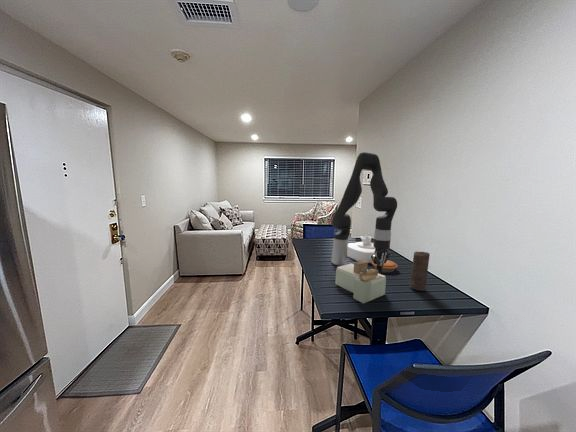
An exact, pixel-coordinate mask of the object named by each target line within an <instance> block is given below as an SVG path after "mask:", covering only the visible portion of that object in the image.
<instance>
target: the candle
mask: <svg viewBox="0 0 576 432" xmlns="http://www.w3.org/2000/svg"><path fill="white" fill-rule="evenodd" d="M429 262H430V253H429V252H427V251H414V253H413V259H412V265H411V267H412V268H411V274H410V280H409V281H410V282H409V287H410V288H411V289H413V290H416V291H426V288H427V280H428V272H429V271H428V269H429Z"/></svg>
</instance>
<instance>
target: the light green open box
mask: <svg viewBox="0 0 576 432" xmlns="http://www.w3.org/2000/svg"><path fill="white" fill-rule="evenodd" d="M334 284H335V285H336V286H338V287H340V288H343V289H345V290H346V291H349V292H350V293H353V296H352V298H353V299H354V300H356V301H357V302H360V303H361V304H363V305H364V304H366V303H368V302H370V301H373V300H375V299H378V298H380V297H382V296H384V295H386V284H387V278H385V280H382V281H379V282H377V283H374V284H371V281H369V280H366V281H364V280H361V279H359V278H355V277H352V276H350V275H348V274H345V273H343V272H341V271H338V270H337V269H335V283H334Z"/></svg>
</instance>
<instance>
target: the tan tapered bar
mask: <svg viewBox="0 0 576 432" xmlns="http://www.w3.org/2000/svg"><path fill="white" fill-rule="evenodd" d="M378 274H379V272H378V270H376V269H375V268H369V269H367V270H366V269H363V270H362V272H360V276H359V279H361V280H364V281H366V280H369V279H371V278H374V277H377V276H378Z"/></svg>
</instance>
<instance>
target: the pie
mask: <svg viewBox="0 0 576 432" xmlns="http://www.w3.org/2000/svg"><path fill="white" fill-rule="evenodd" d="M371 265H373V267H374V268H373V269H376V270H377V265H376V264H374V262H373V261H372V263H371ZM397 268H398V264H397V263H396V262H394V261H392V260H390V259H387V261H386V263H384V265H383V269H382V272H381V273H392V272H394V271H395V270H396V269H397Z"/></svg>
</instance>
